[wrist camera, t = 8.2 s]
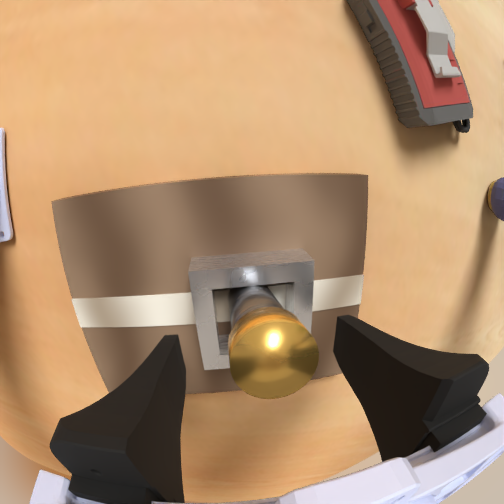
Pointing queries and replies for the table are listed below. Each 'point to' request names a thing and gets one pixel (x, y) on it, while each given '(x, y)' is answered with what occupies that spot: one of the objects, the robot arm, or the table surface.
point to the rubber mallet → (497, 198)
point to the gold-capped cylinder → (268, 345)
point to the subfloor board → (201, 245)
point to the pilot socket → (241, 275)
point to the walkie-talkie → (417, 60)
